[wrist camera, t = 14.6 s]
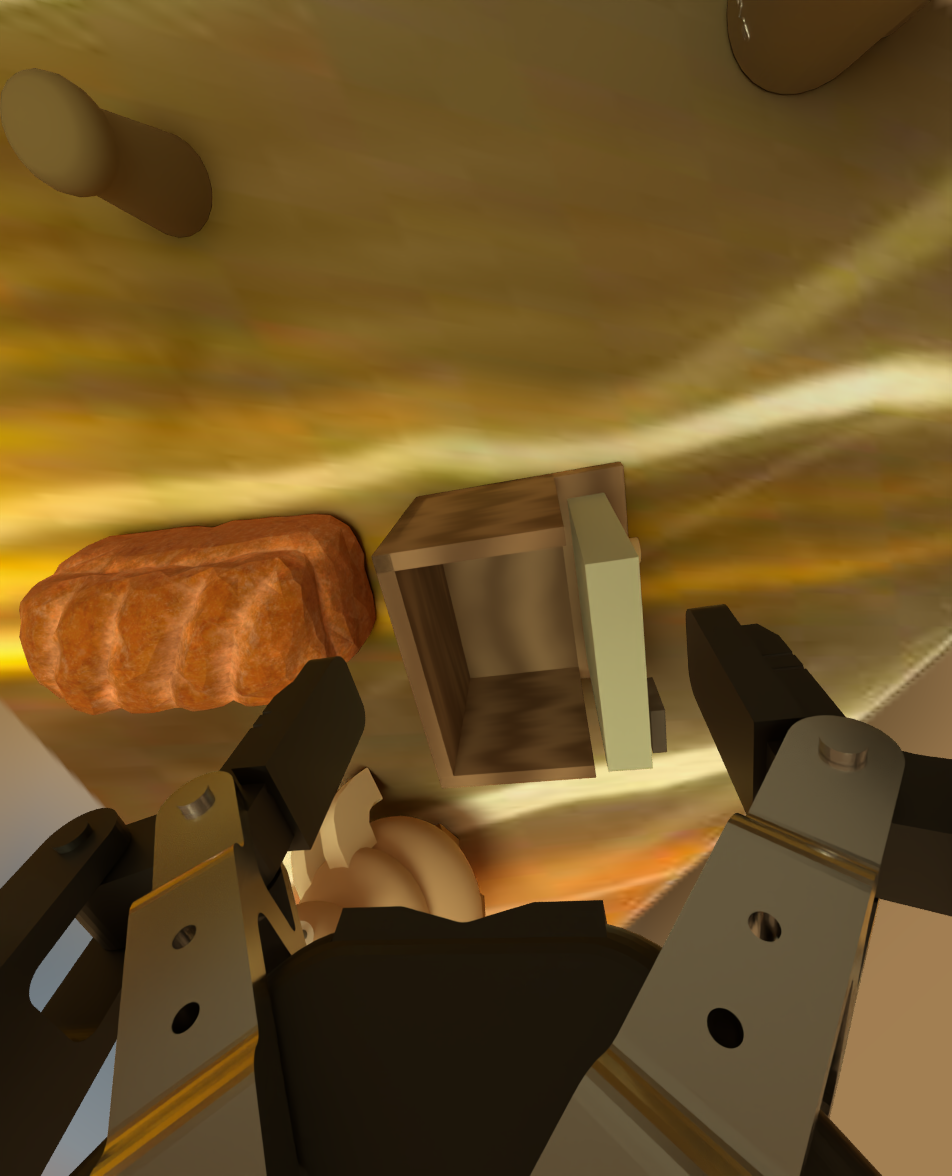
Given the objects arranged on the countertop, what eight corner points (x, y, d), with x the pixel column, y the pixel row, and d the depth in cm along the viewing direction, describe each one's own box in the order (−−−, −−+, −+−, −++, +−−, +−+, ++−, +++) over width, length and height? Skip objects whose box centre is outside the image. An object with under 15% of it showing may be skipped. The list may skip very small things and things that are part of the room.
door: (619, 490, 40) (660, 553, 28) (632, 655, 47) (670, 767, 34) (567, 498, 41) (584, 564, 28) (587, 660, 48) (608, 771, 35)
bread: (386, 635, 50) (333, 743, 37) (152, 651, 54) (23, 755, 40) (354, 502, 45) (276, 571, 31) (95, 530, 48) (-79, 603, 34)
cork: (187, 118, 34) (47, 22, 24) (226, 223, 36) (113, 175, 26) (113, 148, 35) (-51, 68, 25) (155, 248, 37) (22, 211, 27)
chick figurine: (405, 1251, 29) (214, 1288, 37) (585, 983, 52) (442, 1043, 61) (255, 771, 41) (138, 881, 50) (454, 728, 65) (351, 808, 73)
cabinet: (620, 461, 41) (661, 511, 28) (635, 663, 49) (672, 771, 36) (416, 496, 44) (371, 556, 31) (462, 682, 52) (441, 788, 39)
